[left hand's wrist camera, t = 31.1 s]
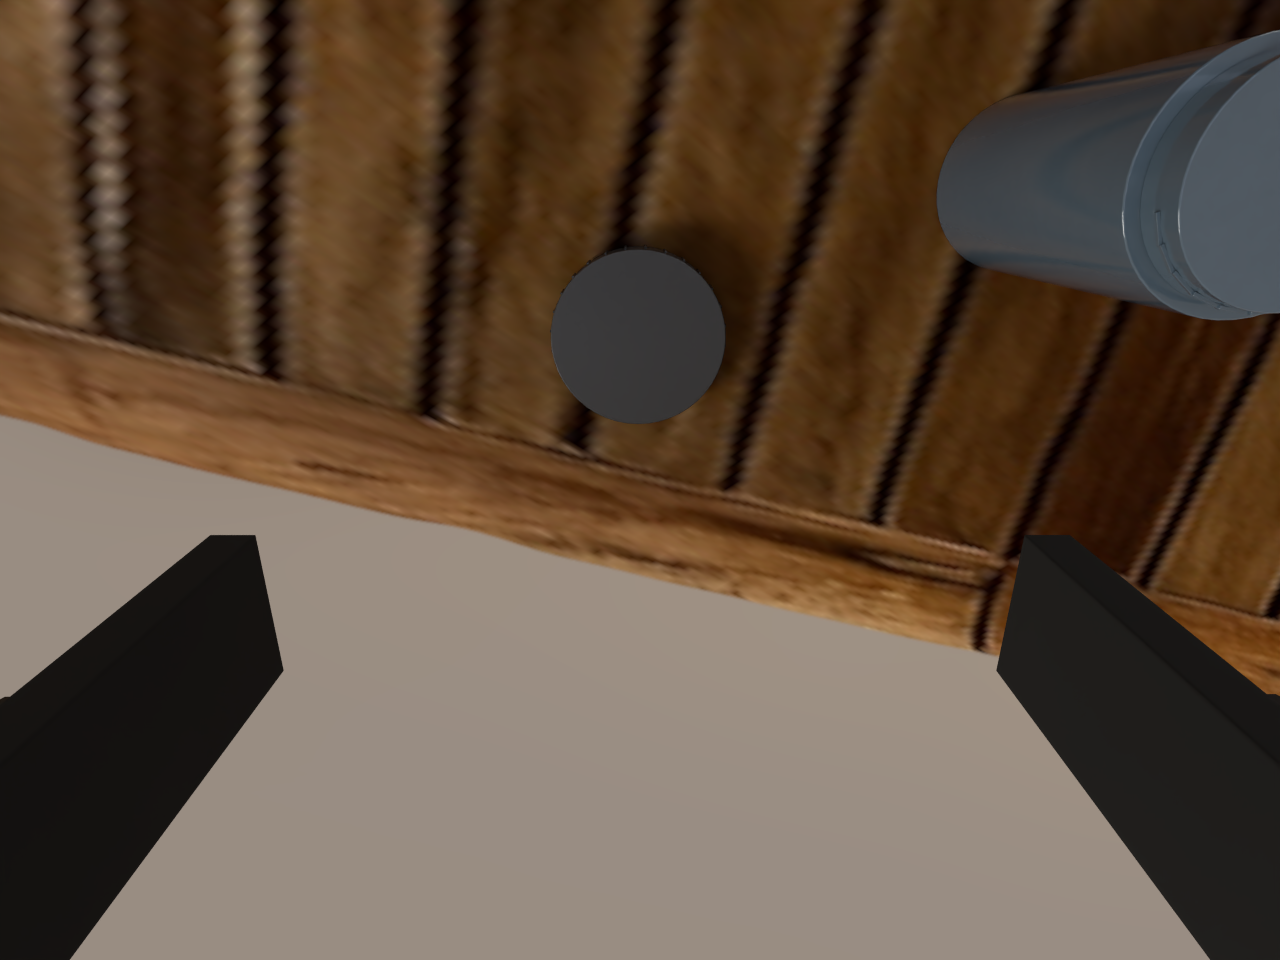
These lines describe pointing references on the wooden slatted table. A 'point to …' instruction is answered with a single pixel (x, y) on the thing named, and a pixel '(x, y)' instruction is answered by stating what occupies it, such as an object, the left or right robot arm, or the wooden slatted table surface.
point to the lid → (638, 335)
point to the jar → (1132, 183)
